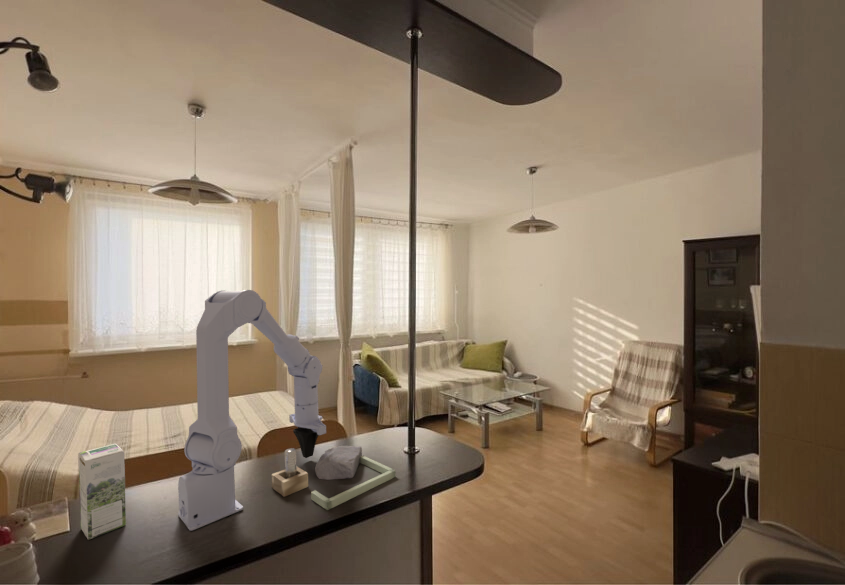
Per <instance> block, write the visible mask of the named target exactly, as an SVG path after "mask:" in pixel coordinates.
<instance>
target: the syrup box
mask: <svg viewBox="0 0 845 585" xmlns="http://www.w3.org/2000/svg"><path fill="white" fill-rule="evenodd" d="M77 455H78V456H77V457H78V458H77V459H78V484H79V485H78V487H79V514H80V515H79V517H80V518H79V521H80V530H82V532H83V534H84V536H85V537H86V538H87V540H88V541H89V540H92V539H95V538H97V537H100V536H102V535H104V534H105V535H106V534H107V533H111V531H114V530H117V529H120V528H121V527H124V526H126V525H127V513H126V512H127V511H126V509H127V508H126V505H127V504H126V475H125V474H126V472H125V471H126V470H125V469H126V467H125V465H126V464H125V463H126V462H125V451H124V450H123V448H121V447H120V446H119V445H118V444H117V443H112V444H107V445H104V446H100V447H95V448H91V449H89V450H85V451H81V452H79V453H78V454H77Z"/></svg>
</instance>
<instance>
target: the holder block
mask: <svg viewBox="0 0 845 585" xmlns="http://www.w3.org/2000/svg"><path fill="white" fill-rule="evenodd" d="M308 487H309V473H308V472H307V471H305V470H303V469H302V468H301V467H299V466H297V475H296V476H293V477H291V478H288V479H285V468H284V469H282V470H279V471H277V472H273V473H272V474H271V488H272V489H273V490H274V491H276V492H277V493H278V494H279V495H281V496H282V497H283V498H285V497H288V496H289V495H292V494H294V493H297V492H299V491H301V490H303V489H306V488H308Z"/></svg>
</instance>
